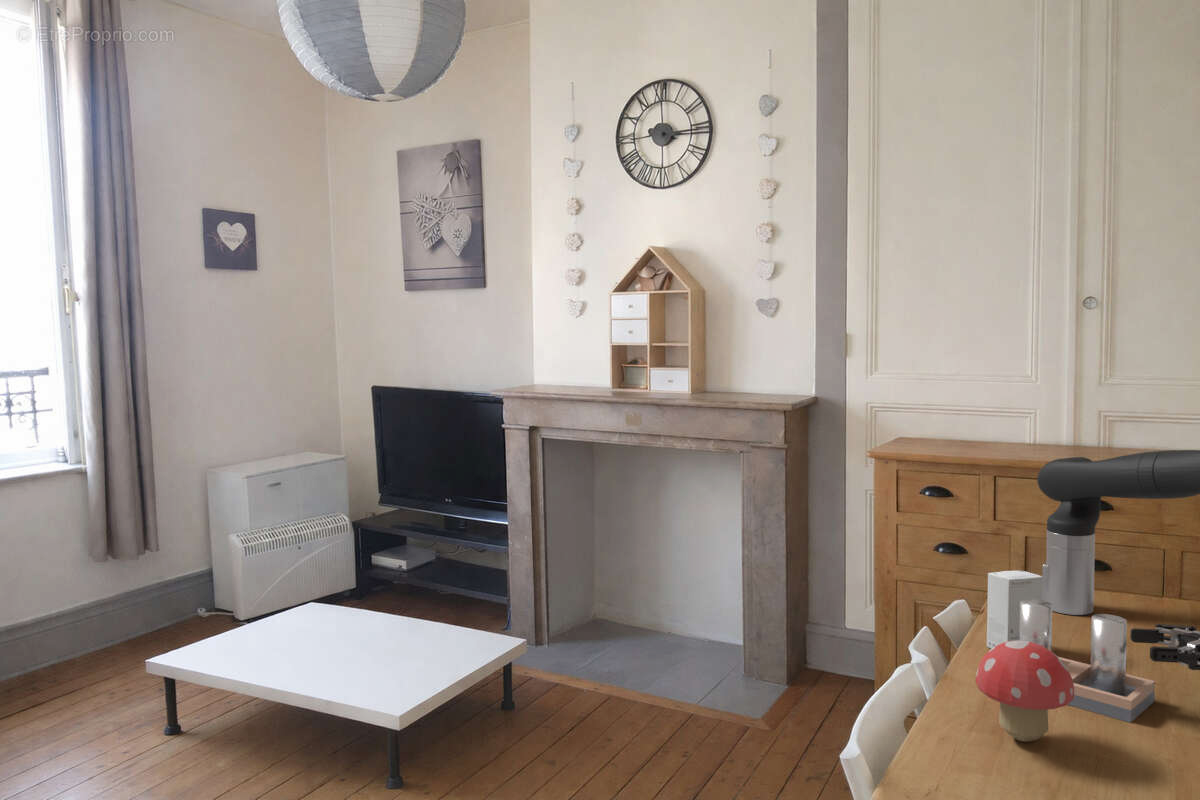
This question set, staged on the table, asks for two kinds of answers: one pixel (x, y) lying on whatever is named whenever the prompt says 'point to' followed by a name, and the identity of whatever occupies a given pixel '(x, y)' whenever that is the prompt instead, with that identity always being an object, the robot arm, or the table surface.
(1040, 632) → the seated billet
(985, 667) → the decorative mushroom
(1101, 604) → the table surface
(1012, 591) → the skincare box
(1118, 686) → the cylinder
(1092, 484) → the robot arm
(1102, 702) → the pink rectangular tray
